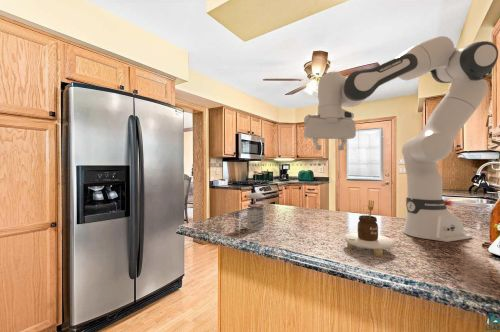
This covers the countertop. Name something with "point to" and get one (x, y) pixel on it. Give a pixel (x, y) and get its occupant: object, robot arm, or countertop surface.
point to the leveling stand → (369, 243)
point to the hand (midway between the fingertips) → (329, 150)
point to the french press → (256, 212)
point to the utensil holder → (368, 225)
